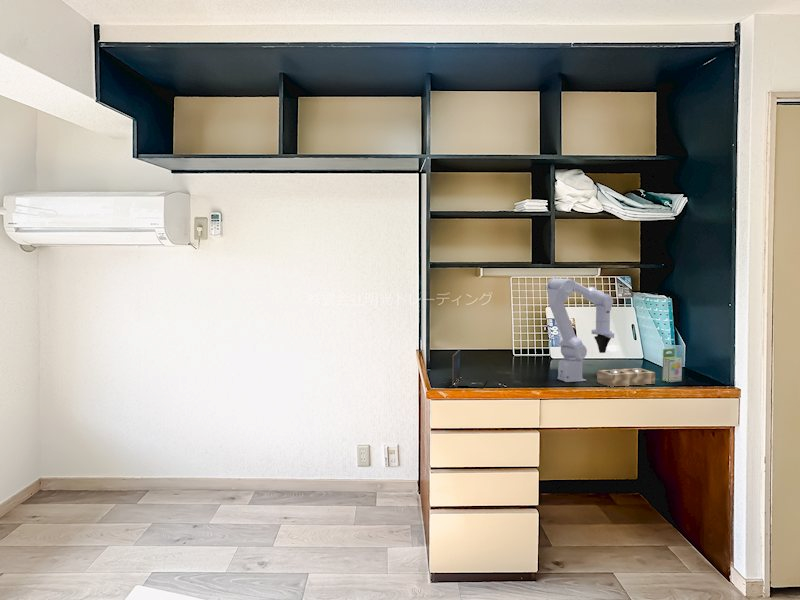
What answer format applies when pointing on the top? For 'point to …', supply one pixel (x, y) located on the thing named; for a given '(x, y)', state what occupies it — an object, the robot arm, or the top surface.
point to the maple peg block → (625, 377)
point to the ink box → (671, 367)
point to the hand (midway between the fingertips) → (602, 352)
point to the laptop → (456, 366)
